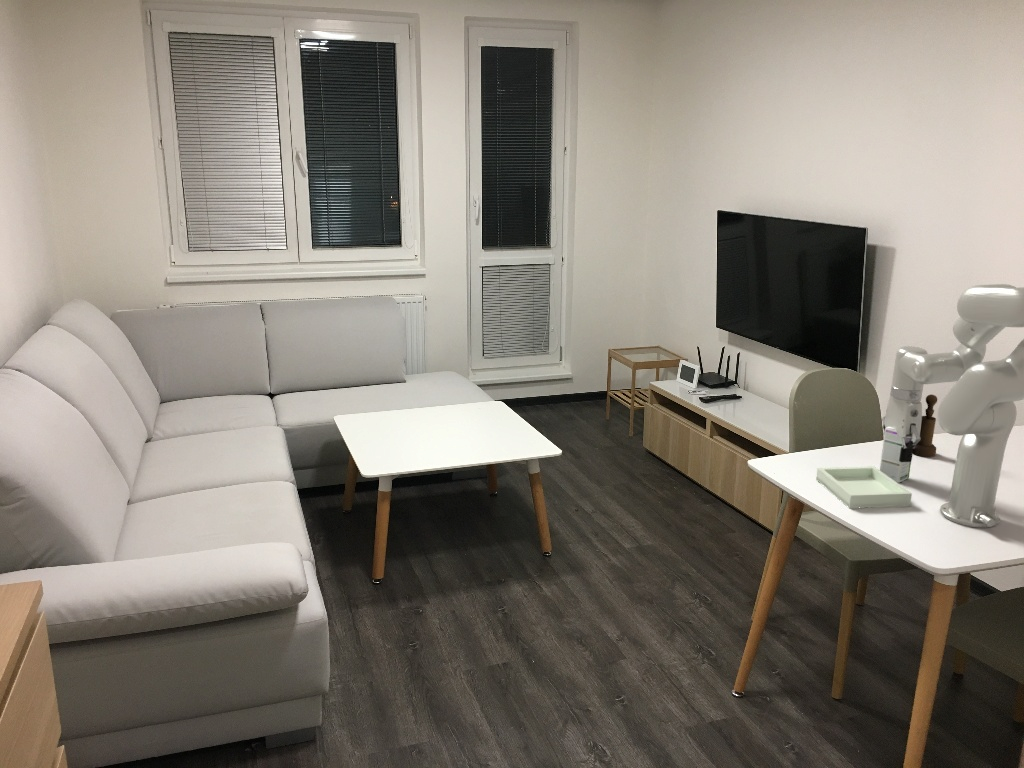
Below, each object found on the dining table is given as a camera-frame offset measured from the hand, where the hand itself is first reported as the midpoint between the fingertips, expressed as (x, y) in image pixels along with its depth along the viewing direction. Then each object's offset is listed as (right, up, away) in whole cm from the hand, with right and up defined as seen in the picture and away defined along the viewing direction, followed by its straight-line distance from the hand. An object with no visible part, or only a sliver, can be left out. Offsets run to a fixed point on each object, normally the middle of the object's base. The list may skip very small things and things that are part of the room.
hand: (896, 455), depth 222 cm
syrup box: (0, -6, +2) cm, 7 cm away
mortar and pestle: (+17, -1, +20) cm, 26 cm away
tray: (-13, -9, -8) cm, 18 cm away
